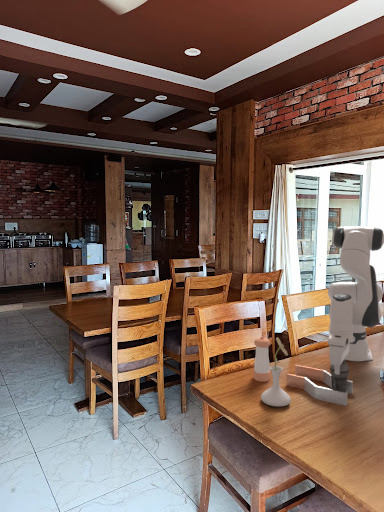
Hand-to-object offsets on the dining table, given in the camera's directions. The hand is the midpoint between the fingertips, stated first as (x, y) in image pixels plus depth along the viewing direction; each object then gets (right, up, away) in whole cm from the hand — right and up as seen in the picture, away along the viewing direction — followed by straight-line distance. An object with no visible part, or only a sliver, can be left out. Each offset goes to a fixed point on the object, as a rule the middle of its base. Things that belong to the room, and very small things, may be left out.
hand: (339, 369), depth 152 cm
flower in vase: (-26, -12, -2) cm, 29 cm away
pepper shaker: (-27, -10, +20) cm, 35 cm away
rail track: (-6, -11, +9) cm, 15 cm away
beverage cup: (0, -11, +1) cm, 12 cm away
